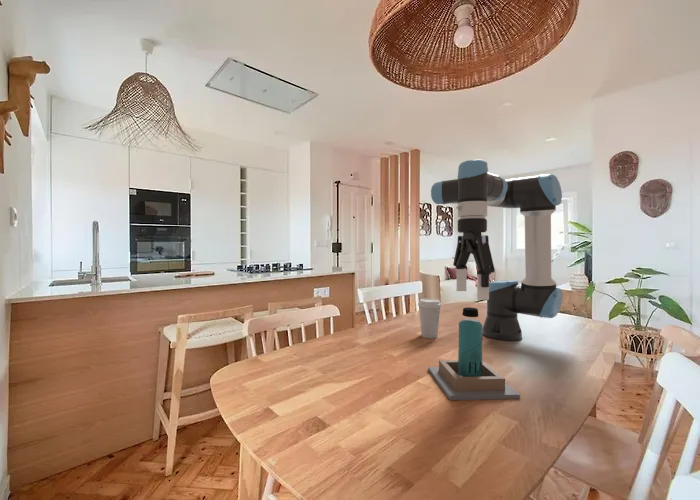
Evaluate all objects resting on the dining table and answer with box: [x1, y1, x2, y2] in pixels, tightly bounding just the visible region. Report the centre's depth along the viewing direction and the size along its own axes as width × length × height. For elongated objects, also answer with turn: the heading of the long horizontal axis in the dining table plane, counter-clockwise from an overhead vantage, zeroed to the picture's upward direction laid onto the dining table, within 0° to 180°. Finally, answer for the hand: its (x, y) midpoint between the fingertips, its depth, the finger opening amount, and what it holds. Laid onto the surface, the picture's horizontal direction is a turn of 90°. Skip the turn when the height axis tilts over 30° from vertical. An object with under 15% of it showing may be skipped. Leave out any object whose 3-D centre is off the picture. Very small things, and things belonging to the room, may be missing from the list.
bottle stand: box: [427, 359, 521, 401], centre depth 87 cm, size 18×18×4 cm
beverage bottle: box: [457, 306, 484, 377], centre depth 87 cm, size 6×7×20 cm
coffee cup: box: [417, 298, 442, 339], centre depth 130 cm, size 10×10×15 cm
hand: (471, 295), depth 87 cm, fingers open, 13 cm apart
